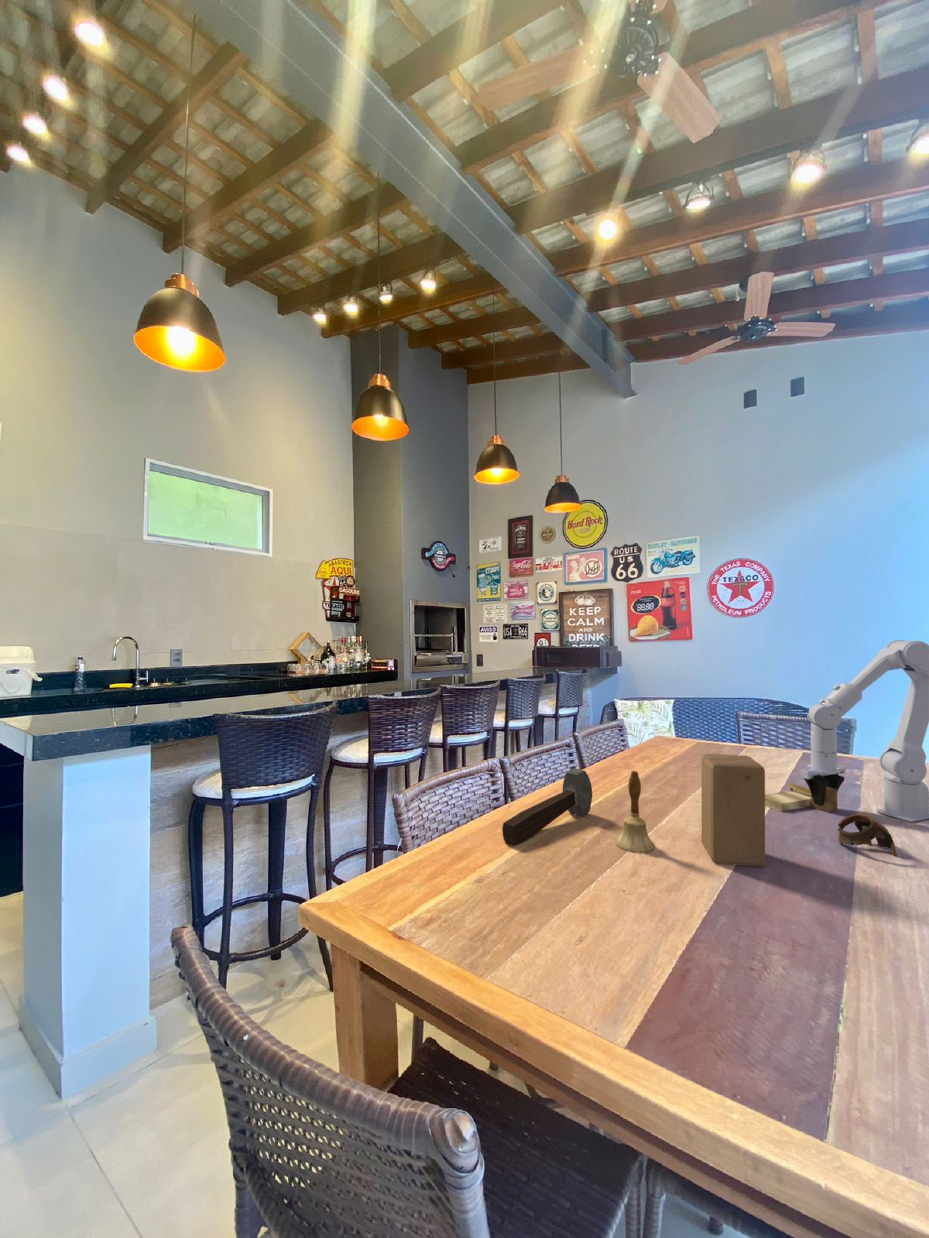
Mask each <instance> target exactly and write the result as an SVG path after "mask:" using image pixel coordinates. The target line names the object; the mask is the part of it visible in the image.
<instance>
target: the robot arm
mask: <svg viewBox="0 0 929 1238" xmlns="http://www.w3.org/2000/svg"><path fill="white" fill-rule="evenodd" d="M899 669H902V670H903V671H904V672H905V673H906V675H907V676H908V677H909V678H910V679H911V681H910V684H909V686H908V687H909V688H908V691H907V695H906V699H905V702H904V706H903V709H902V712H901V715H900V718H899V719H900V720H899V723H898V727H897V731H896V734H895V738H894V739H893V740H891V741H889V742H888V744H887V747H886V749H885V750H884V752H882V753H881V755H880V757H879V764H880V765H879V766H880V767H881V768H882V769H883V771H884V775H883V778H884V780H883V781H884V783H883V786H884V788H883V789H884V791H883V793H884V794H883V796H884V799H883V800H884V807H883V808H878V809H876V810H875V812H876V813H880V814H882V815H885V816H889V817H893V818H895V819H899V820H902V821H906V822H909V823H914V822H919V821H922V820H928V819H929V788H928V786H927V784H926V783H925V782H924V781H923V780H924V779H925V778H926V776H927V771H928V770H927V766H926V760H927V756H926V753H925V750H924V749H923V744H924V740H925V736H926V733H927V731H928V726H929V644H927V643H926V642H924V641H922V640H903V639H896V640H892V641H891V642H889V643H888V644H887V645H886V647H883V648H882V649H880V650H879V651H878V653H877V654H876V656H874V658H873V659H871V661H870V662H869V663H868V664H866V665H865V667H863V669H861V671H860V672H859V673H857V674H856V676H854V678H853V679H852V680H851V681H850V682H841V683H840V684H835V685H834V686H832V691H831V692H830V693H828V695H826V696H825V698H820V700H819V701H818V703H819V704H818V703H817V704H814V705H812V706H811V707H810V708H809V709H808V713H806V718H807V720H808V721H809V722H810V763H809V764H807V765H806V768H804V769H800V778H802V779H803V780H804V781H805V783H806V784H807V786H808V787H807V788H809V789H810V791H811V795H812V798H813V802H814V804H817V805H820V806H823V804H824V799H825V791H826V787H830V788H834V789H837V793H838V792H839V790H840V787H841V786H842V784H843V783H844V782H845V776H842V775H840V774H843V775H845V774H847V766H846V765H842V764H838V735H837V734H838V733H837V727H838V726H840V725H841V723H842V717H843V716H845V715H846V714H847V713H848V712H849V711H850V710H852V708H854V707H855V706H856V705H858V703H860V702H861V700H862V699H863V692H864V691H865V690H866V689H867V688H868V687H870V686H871V685H873V683H875V682H876V681H877V680H879V679H880V678H881V677H882V676H883V675H885V674H886V673H887V672H888V671H893V670H899Z"/></svg>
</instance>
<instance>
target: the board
mask: <svg viewBox="0 0 929 1238" xmlns="http://www.w3.org/2000/svg"><path fill="white" fill-rule="evenodd" d="M765 807H767V808H770V809H773V810H776V811H778V812H781V813H782V812H787V811H792V810H797V809H803V808H808V807H810V808H811V794H809V793H806V792H803V791H799V790H796V789H793V791H791V790H786V791H780V792H773V793H768V794H767V793H765Z"/></svg>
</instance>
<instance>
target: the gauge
mask: <svg viewBox="0 0 929 1238" xmlns="http://www.w3.org/2000/svg"><path fill="white" fill-rule="evenodd" d="M787 788H789V791H793V790H799V791H803V792H806V793H809V794H811V791H810V789H809V787H805V786H801V785H798V784H794V783H791V782H788V783H787ZM810 808H813V809H816V810H819V811H822V812H824V813H825V812H826V813H833V812H838V792H837V789H834V788H830V787H826V791H825V799H824V804H823V806H820V805H817V804H814V802H813V798H812V795H811V806H810Z"/></svg>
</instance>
